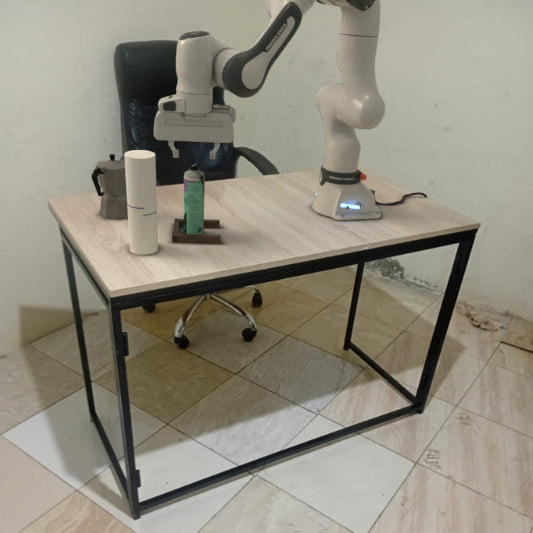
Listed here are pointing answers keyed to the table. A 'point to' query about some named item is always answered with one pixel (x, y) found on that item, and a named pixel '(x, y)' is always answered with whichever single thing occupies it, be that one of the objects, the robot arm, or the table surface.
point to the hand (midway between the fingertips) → (194, 157)
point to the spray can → (194, 200)
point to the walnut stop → (195, 237)
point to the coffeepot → (111, 187)
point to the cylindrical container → (141, 201)
